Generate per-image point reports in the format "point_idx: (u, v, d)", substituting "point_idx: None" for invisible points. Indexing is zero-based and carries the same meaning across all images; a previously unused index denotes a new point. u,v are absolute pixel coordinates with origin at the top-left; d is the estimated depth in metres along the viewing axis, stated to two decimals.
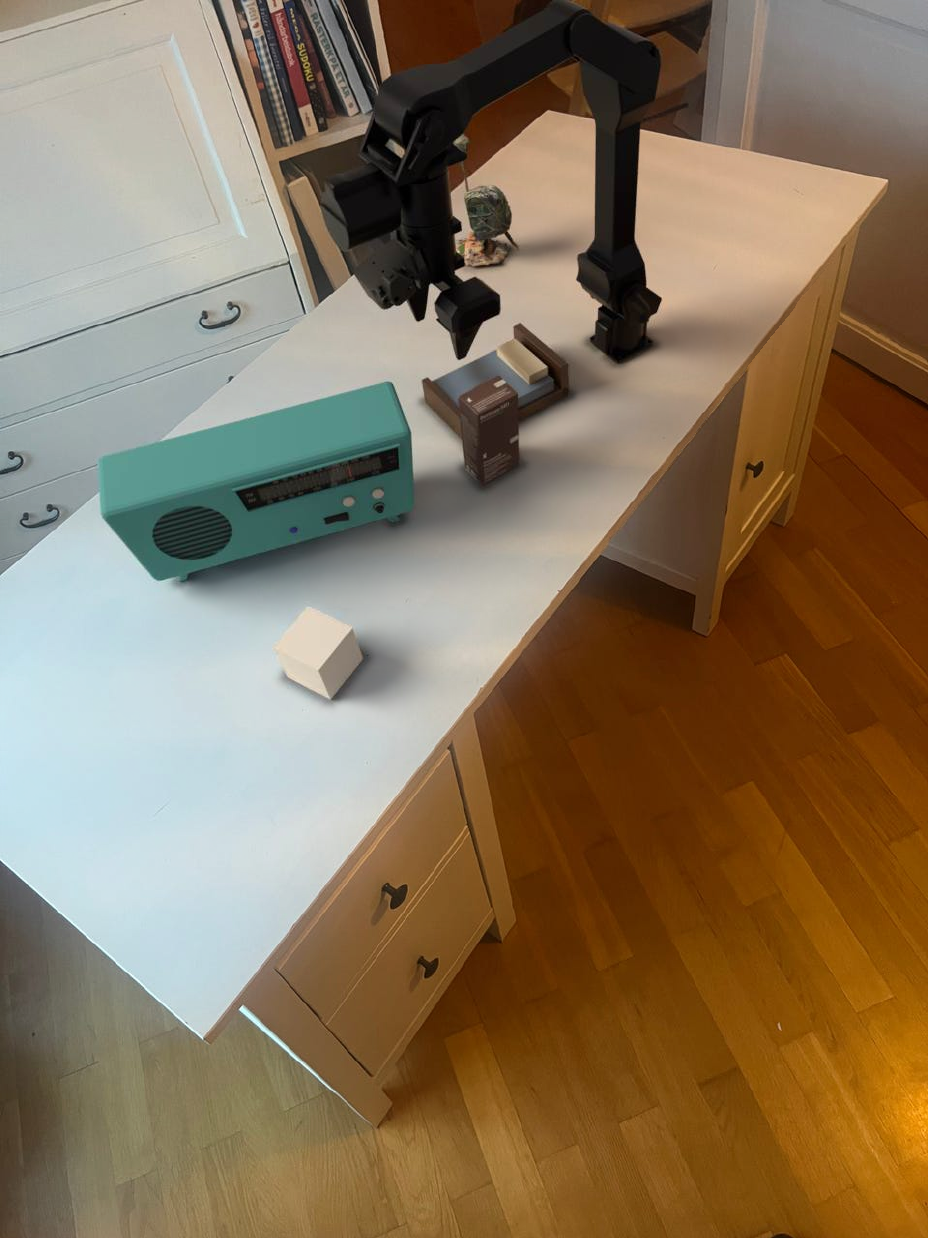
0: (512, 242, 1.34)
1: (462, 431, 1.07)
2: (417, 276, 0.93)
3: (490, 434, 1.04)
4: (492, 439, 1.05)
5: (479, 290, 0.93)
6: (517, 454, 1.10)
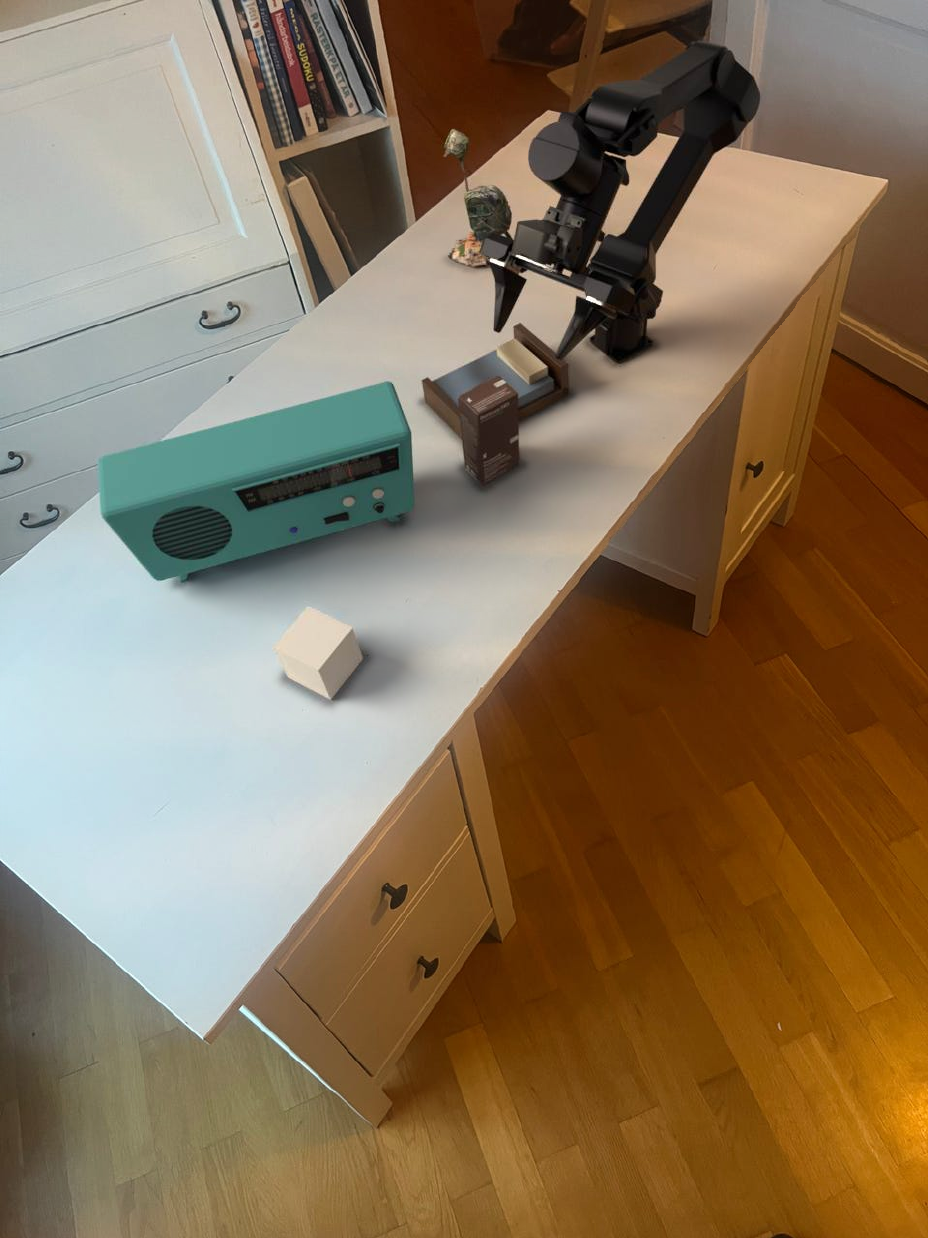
0: None
1: (462, 431, 1.07)
2: None
3: (490, 434, 1.04)
4: (492, 439, 1.05)
5: None
6: (517, 454, 1.10)
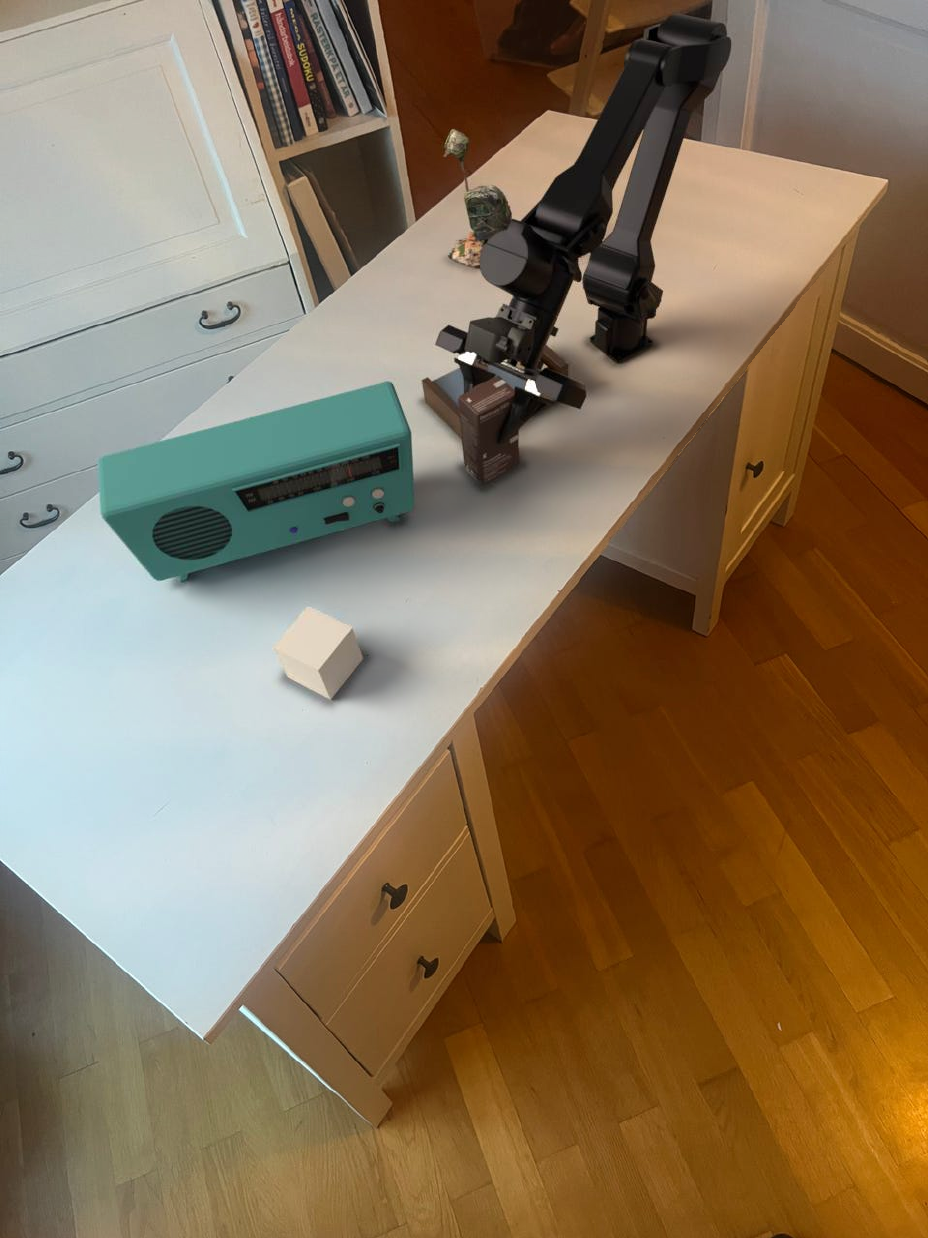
0: None
1: (462, 431, 1.07)
2: None
3: (490, 434, 1.04)
4: (492, 439, 1.05)
5: None
6: (517, 454, 1.10)
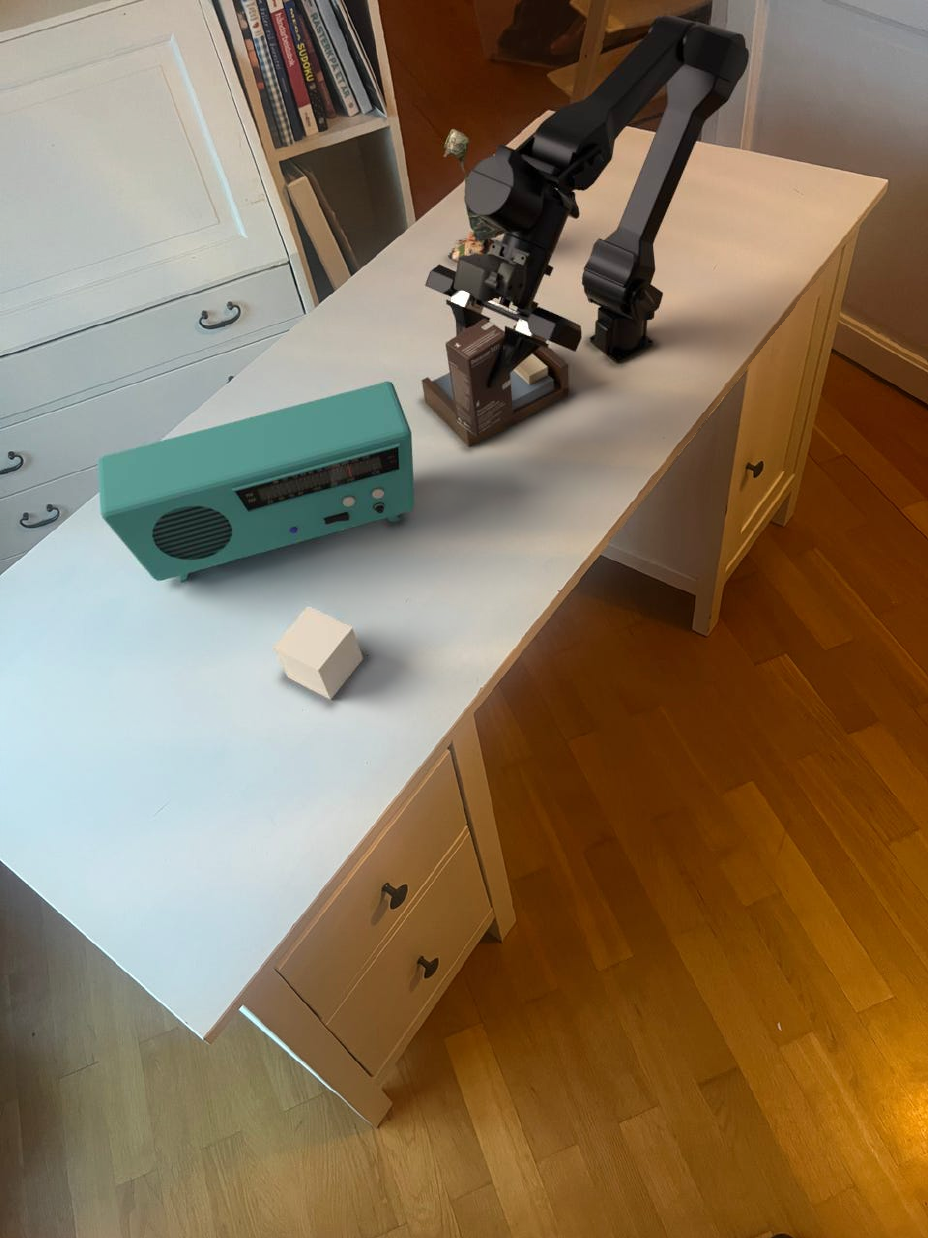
0: None
1: (452, 380, 1.02)
2: None
3: (482, 379, 1.00)
4: (484, 386, 1.01)
5: None
6: (510, 401, 1.06)
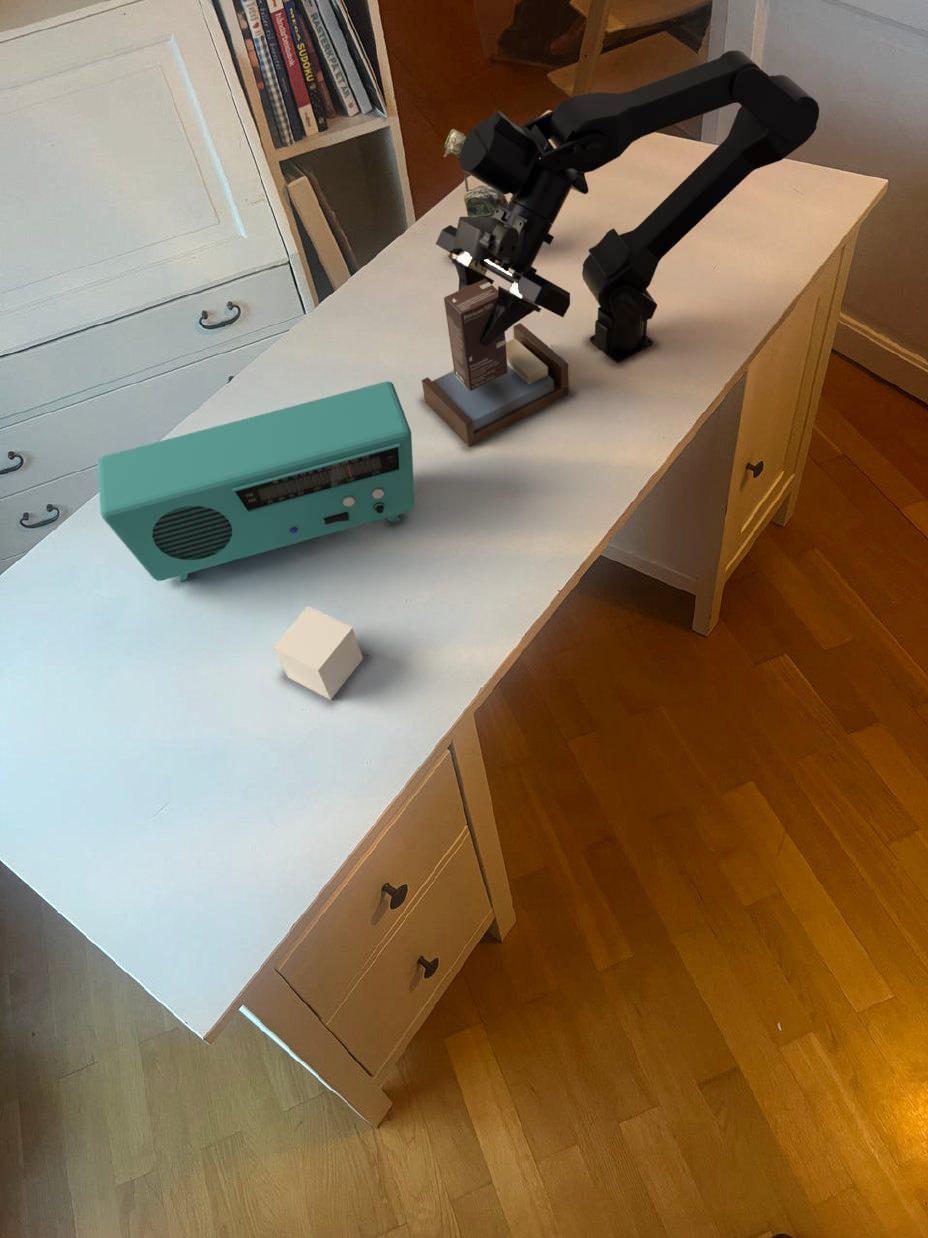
0: None
1: (450, 335, 1.09)
2: None
3: (475, 335, 1.07)
4: (477, 342, 1.08)
5: None
6: (505, 360, 1.12)
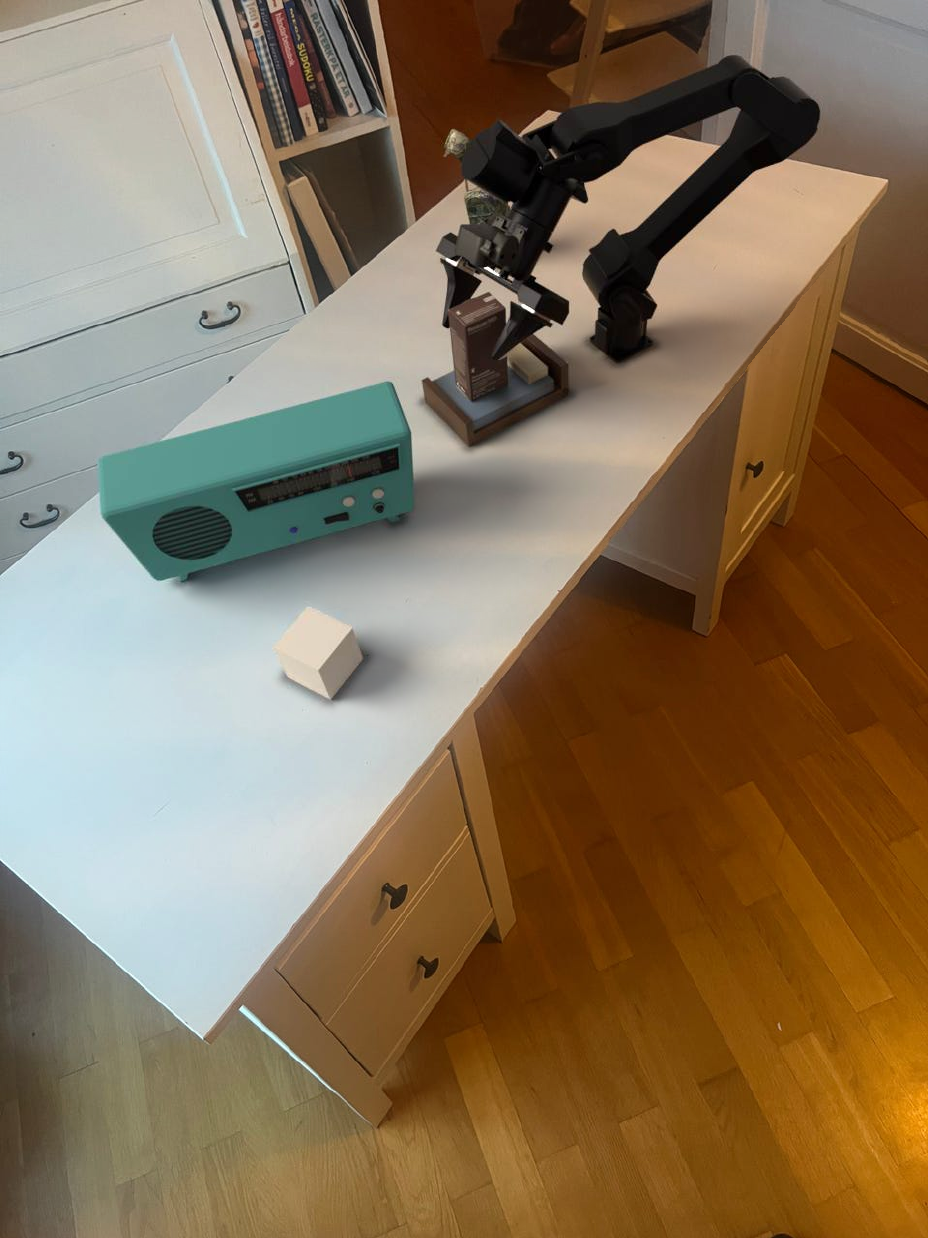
0: None
1: (452, 346, 1.11)
2: None
3: (478, 347, 1.08)
4: (480, 354, 1.09)
5: None
6: (505, 372, 1.14)
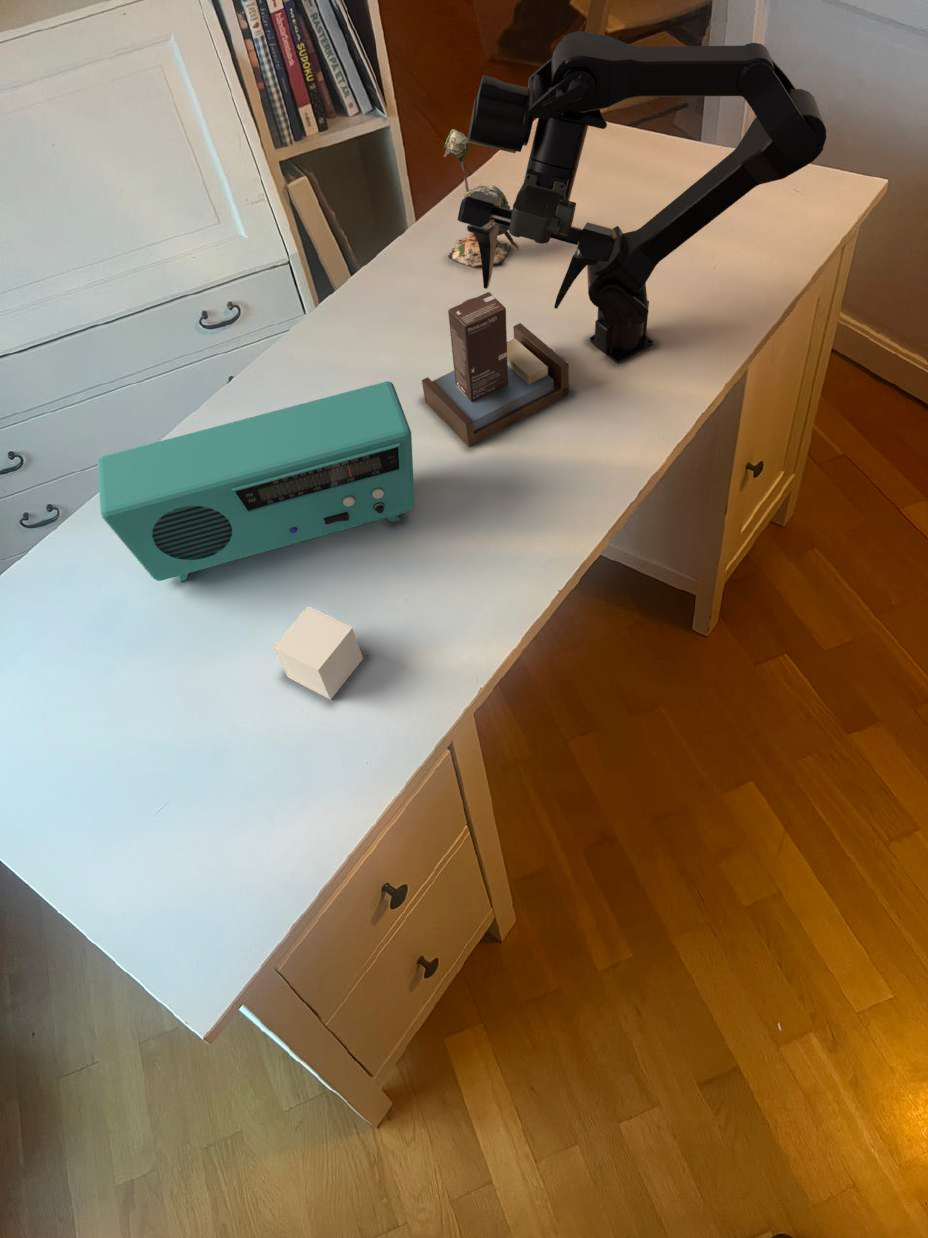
0: (512, 242, 1.34)
1: (452, 346, 1.11)
2: None
3: (478, 348, 1.08)
4: (480, 354, 1.09)
5: (605, 228, 1.06)
6: (506, 372, 1.14)
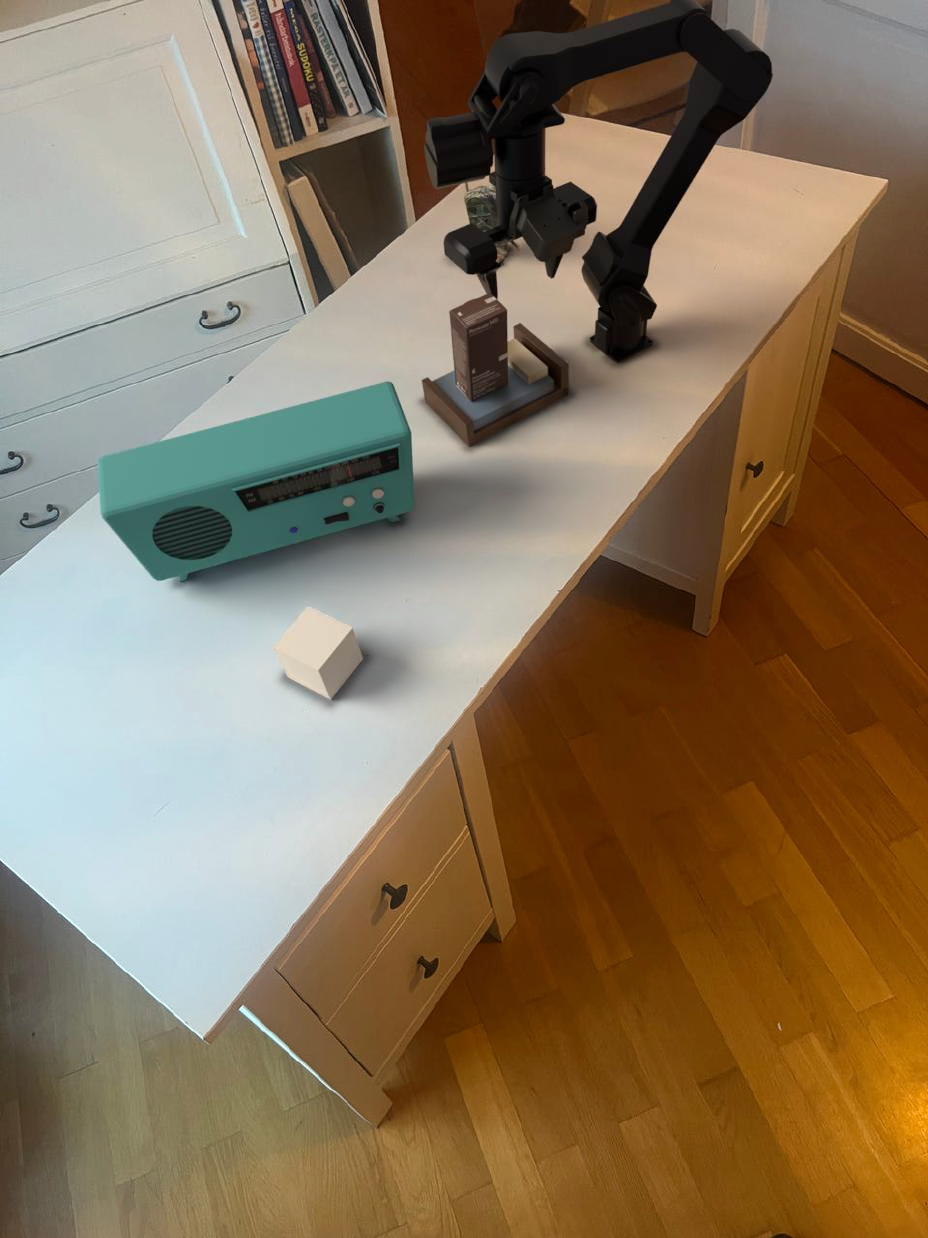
0: (512, 242, 1.34)
1: (453, 346, 1.11)
2: None
3: (479, 349, 1.08)
4: (481, 355, 1.09)
5: (569, 187, 1.07)
6: (506, 372, 1.14)
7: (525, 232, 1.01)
